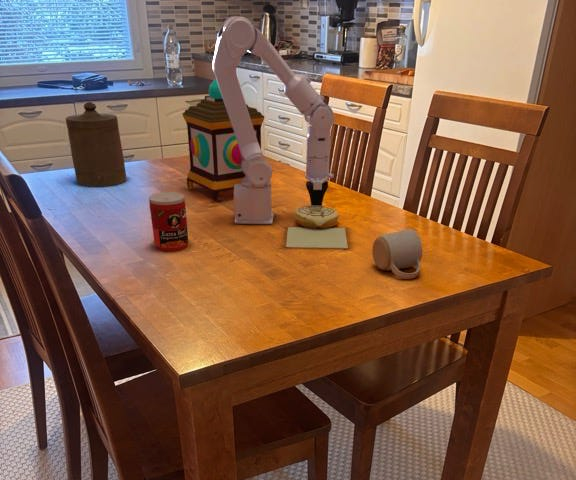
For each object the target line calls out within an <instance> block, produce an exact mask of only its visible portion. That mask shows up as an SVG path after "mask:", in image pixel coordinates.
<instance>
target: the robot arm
mask: <svg viewBox="0 0 576 480" xmlns="http://www.w3.org/2000/svg"><path fill="white" fill-rule="evenodd" d="M247 52H248V53H249V54H252V55H255V56H256V57H259V58H260V59H261V60H262V62H264V63H265V64H266V66H268V68H269V69H270V70H271V71H272V72H273V74H275V76H276V77H277V78H278V79H279V80H280V82H282V83H283V88H284V89H283V90H284V91H283V92H284V95H285V96H286V97H287V99H288V100H289V101H290V102H291V103H292V104H293V106H294V107H295V108H296V109H297V111H298V112H299V113H300V114H301V115H303V116H304V117H303V118H304V120H305V122H306V123H308V124H307V132H306V133H307V134H306V157H305V159H306V160H305V161H306V163H305V174H304V176H305V179H306V180H307V181H305V188H306V189H307V193H308V194H309V195H308V196H309V200H310V205H319V206H323V202H324V197H325V194H326V192H327V190H328V188H329V179H334V173H330V156H331V128H332V126H333V125H334V123H335V121H336V117H335V116H334V111H333V109H332V107H331V106H329V105H328V104H327V103H325V101H324V100H325V97H324V96H323V94H319V93H318V92H317V90H316V89H315V88H314V86H313V85H312V84H311V83H312V80H311V78H310V77H309V76H305V75H304V74H302V73H294V72H293V70H292V69H291V67H290V66H289V65H288V64H287V62H286V61H285V60H284V58H283V57H282V56H281V54H280V53H279V52H278V50H277V49H276V48H275V47H274V45H273V44H272V43H271V41H270V39H268V38H267V37H266V36H265V35H264V34H263V33H262V32H261V31H260V30H259V29H258V28H257V27H254V24H253V23H252V22H251V21H250V20H249V19H248V18H246V17H243V16H239V15H231V16H229V17H227V18H226V19H225V20H224V21H223V23H222V25H221V26H220V29H219V30H218V32H217V36H216V43H215V47H214V53H213V59H212V72H213V73H214V77H215V79H216V80H217V83H218V86H219V89H220V92H221V95H222V98H223V101H224V104H225V106H226V109H227V112H228V115H229V118H230V121H231V124H232V127H233V130H234V133H235V136H236V139H237V142H238V145H239V149H240V153H241V156H242V163H241V167H242V171H243V172H244V174H245V175H246V176H245V177H244V179H243V180H242V183H241V184H235V185H234V190H233V214H234V224H237V225H238V224H239V225H241V224H242V225H244V224H247V225H273V221H274V216H275V213H274V212H272V181H271V179H272V177H273V169H272V166H271V165H270V163H269V162H268V161H267V160H266V158H265V156H264V154H263V151H262V147H261V148H260V146H259V143H258V141H257V138H256V134H255V131H254V128H253V125H252V122H251V119H250V116H249V112H248V109H247V106H246V104H247V103H246V101H245V100H246V99H245V97H244V94H243V91H242V88H241V84H240V81H239V78H238V75H237V71H236V70H237V68H238V66H239V64H240V62H241V59H242V57H244V55H245V54H247Z"/></svg>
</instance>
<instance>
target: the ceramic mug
mask: <svg viewBox="0 0 576 480" xmlns="http://www.w3.org/2000/svg"><path fill="white" fill-rule="evenodd" d="M371 251H372V258H373V262H374V265H375V266H376V267H377V268H378V269H379V270H381V271H391V272H392V273H393V274H394V275H395V276H396V277H398V278H400V279H404V280H411V279H415V278H416V277H417V276H418V275H419V273H420V270H421V261H422V257H423V244H422V240H421V237H420V236H419V233H417V231H416V230H415V229H413V228H406V229H403V230H399V231H394V232H390V233H385V234H382V235H380V236H378V237H376V238H375V239H374V242H373V243H372V250H371ZM414 267H415V268H416V271H415V272H411V273H410V272H409V273H408V272H403V271H401V269H408V268H414Z"/></svg>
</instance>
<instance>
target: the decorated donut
mask: <svg viewBox="0 0 576 480" xmlns="http://www.w3.org/2000/svg"><path fill="white" fill-rule="evenodd" d="M339 217H340V215H339V212H338V211H337V210H336V209H334V208H332V207H329V206H325V205H322V206H319V205H311V204H310V205H304V206H301V207H299V208H297V209H296V210H295V211H294V218H295V220H296V222H297V223H298V225H301V227H308V228H310V227H312V228H322V229H323V228H332V227H334V226H336V225H337V224H338V222H339Z"/></svg>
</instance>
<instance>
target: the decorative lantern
mask: <svg viewBox="0 0 576 480" xmlns="http://www.w3.org/2000/svg"><path fill="white" fill-rule="evenodd" d="M246 106H247V109H248V112H249V116H250V119H251V122H252V125H253V128H254V131H255V134H256V138H257V141H258V143H259V146H260V148H261V149H262V126H263V124H264V120H265V115H264V114H262V112H261V111H258V108H255V107H251V106H249V105H248V104H247V103H246ZM182 117H183V119H184V121H185V123H186V127H187V141H188V153H189V165H190V167H189V171H188V174H187V176H186V185H187V189H188V190H193V189H194V184H195V185H196V186H199V187H201V188H203V189H206V190H208V191H209V192H211V196H212V200H213V202H214V203H218V202H219V195H220V193H221V192H227V191H232V190H233V191H234V185H235V184H241V183H242V180H243V179H244V177H245V176H246V175H245V174H244V172H243V171H242V167H241V163H242V156H241V153H240V149H239V145H238V142H237V139H236V136H235V133H234V130H233V127H232V124H231V121H230V118H229V115H228V112H227V109H226V106H225V104H224V101H223V98H222V95H221V92H220V89H219V86H218V83H217V80H216V78H215V79H213V81H212V82H211V83H210V85H209V88H208V95H204V99H201V100H200V102H197V103H196V105H190V106H189V107H188V108H187V109H185V110H184V112H182Z"/></svg>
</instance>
